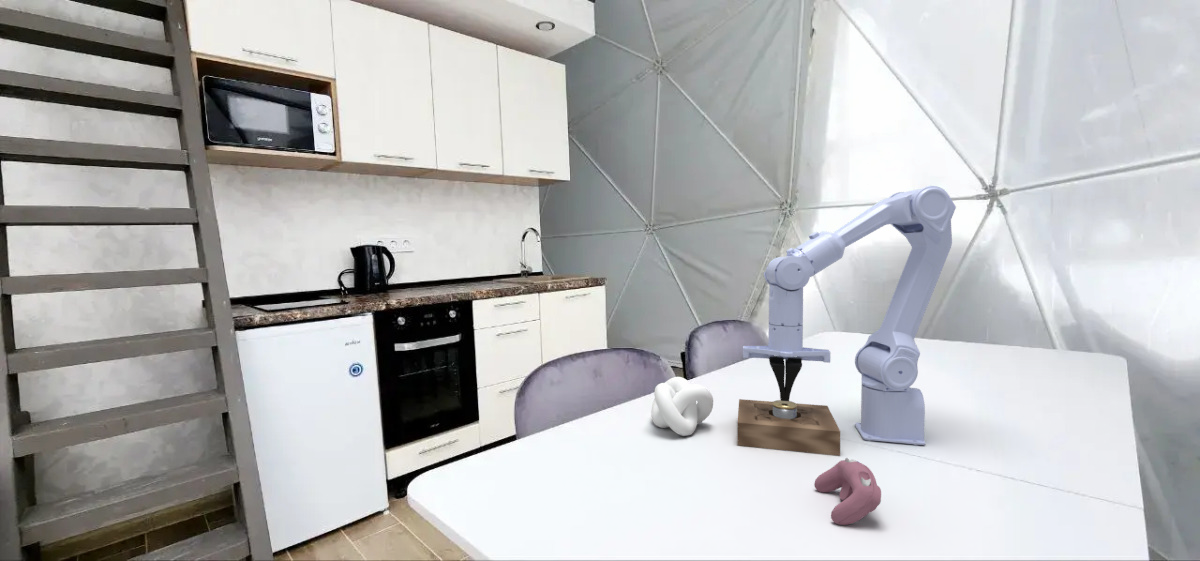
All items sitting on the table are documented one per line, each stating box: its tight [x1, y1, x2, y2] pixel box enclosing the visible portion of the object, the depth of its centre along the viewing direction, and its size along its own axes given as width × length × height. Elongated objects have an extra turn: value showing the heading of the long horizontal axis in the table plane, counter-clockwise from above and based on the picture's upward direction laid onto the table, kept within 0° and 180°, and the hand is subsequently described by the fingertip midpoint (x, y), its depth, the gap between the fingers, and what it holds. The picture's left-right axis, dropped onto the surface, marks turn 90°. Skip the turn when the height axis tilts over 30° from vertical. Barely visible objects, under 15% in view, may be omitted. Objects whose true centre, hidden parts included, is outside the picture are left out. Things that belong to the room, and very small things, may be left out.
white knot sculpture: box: [650, 376, 714, 437], centre depth 93 cm, size 11×12×9 cm
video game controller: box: [813, 457, 882, 526], centre depth 63 cm, size 10×5×7 cm, turn 169°
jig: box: [736, 398, 841, 457], centre depth 88 cm, size 16×14×4 cm
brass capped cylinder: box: [772, 399, 797, 419], centre depth 88 cm, size 4×4×6 cm
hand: (784, 399), depth 88 cm, fingers closed
